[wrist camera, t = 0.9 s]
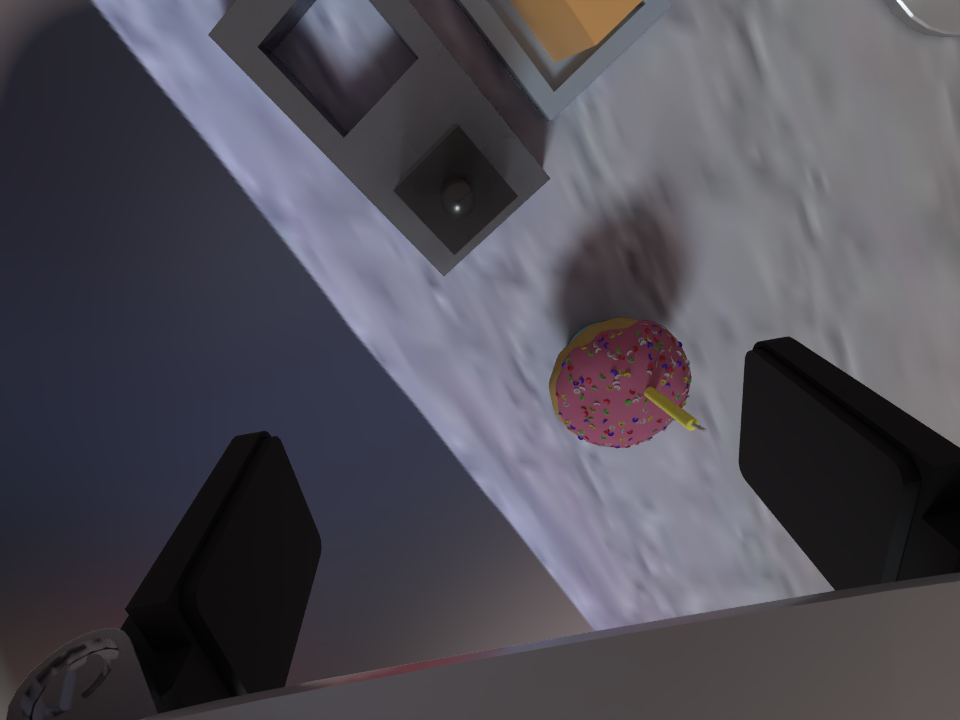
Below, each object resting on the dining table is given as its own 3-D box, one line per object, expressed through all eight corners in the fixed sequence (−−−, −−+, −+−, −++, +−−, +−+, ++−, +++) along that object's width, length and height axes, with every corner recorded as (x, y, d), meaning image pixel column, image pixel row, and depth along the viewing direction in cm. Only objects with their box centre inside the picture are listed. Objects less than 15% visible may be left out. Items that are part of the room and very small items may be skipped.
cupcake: (606, 269, 34) (688, 343, 23) (684, 349, 37) (790, 448, 26) (513, 361, 36) (547, 467, 25) (594, 429, 39) (656, 551, 28)
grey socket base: (227, 41, 27) (123, 5, 18) (332, -88, 25) (276, -200, 16) (443, 265, 33) (446, 322, 24) (541, 173, 31) (585, 198, 22)
